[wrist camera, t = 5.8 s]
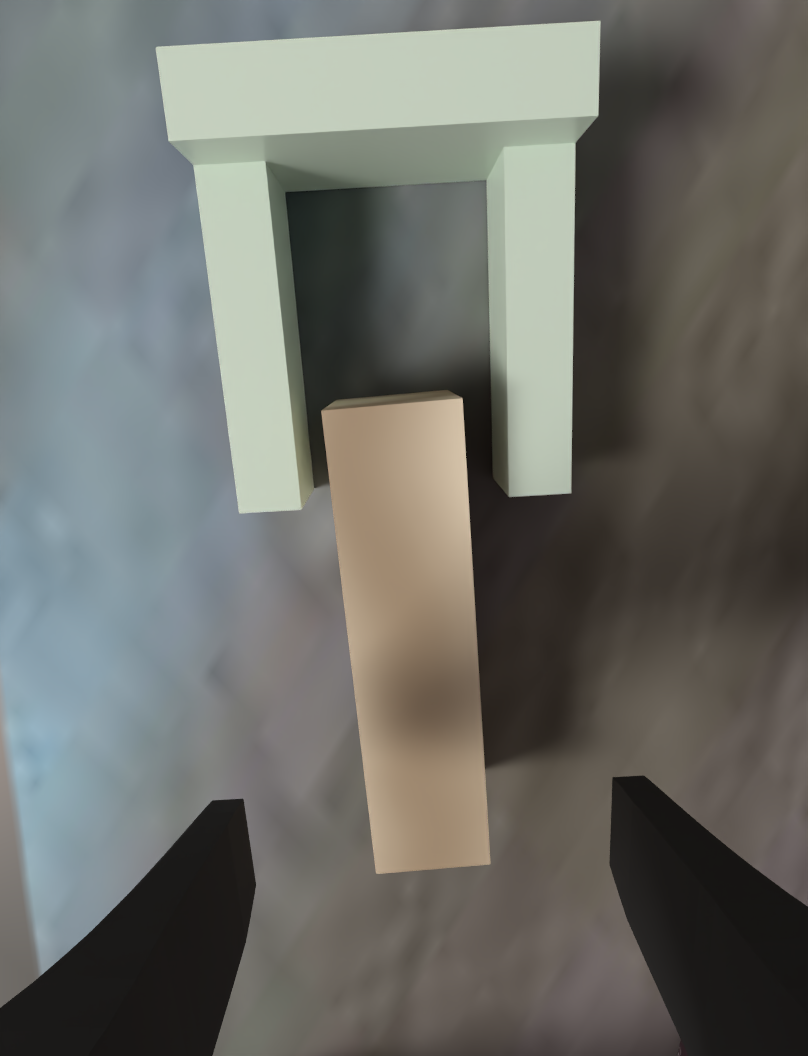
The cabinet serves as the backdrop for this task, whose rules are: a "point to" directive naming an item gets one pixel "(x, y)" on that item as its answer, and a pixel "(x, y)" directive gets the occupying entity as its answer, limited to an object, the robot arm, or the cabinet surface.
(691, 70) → the cabinet surface
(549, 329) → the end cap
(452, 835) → the tan wooden block
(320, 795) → the cabinet surface
